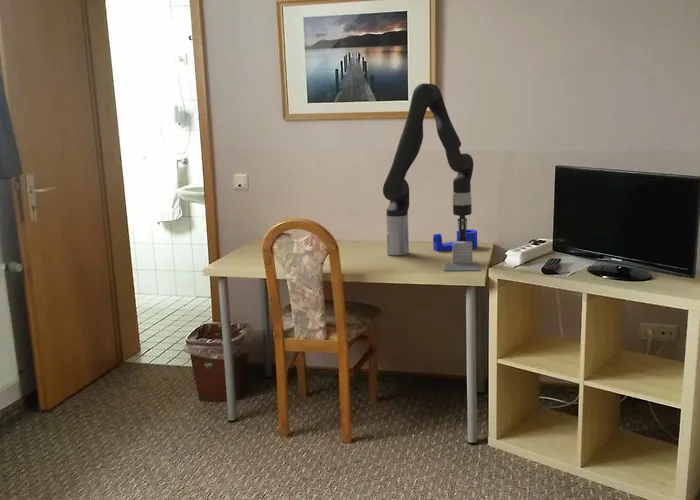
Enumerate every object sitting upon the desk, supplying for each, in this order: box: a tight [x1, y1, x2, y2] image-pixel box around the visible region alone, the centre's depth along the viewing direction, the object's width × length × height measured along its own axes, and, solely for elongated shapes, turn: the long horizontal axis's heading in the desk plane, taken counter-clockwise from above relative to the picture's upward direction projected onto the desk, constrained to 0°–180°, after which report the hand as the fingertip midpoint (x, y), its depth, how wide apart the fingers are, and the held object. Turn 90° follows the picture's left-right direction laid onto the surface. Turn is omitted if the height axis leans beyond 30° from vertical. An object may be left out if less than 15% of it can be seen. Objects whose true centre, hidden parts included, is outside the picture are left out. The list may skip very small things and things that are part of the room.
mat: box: [443, 263, 482, 272], centre depth 284 cm, size 14×11×1 cm
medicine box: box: [452, 241, 474, 264], centre depth 291 cm, size 8×4×9 cm, turn 84°
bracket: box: [432, 228, 478, 252], centre depth 319 cm, size 20×9×8 cm, turn 102°
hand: (462, 244), depth 296 cm, fingers closed
